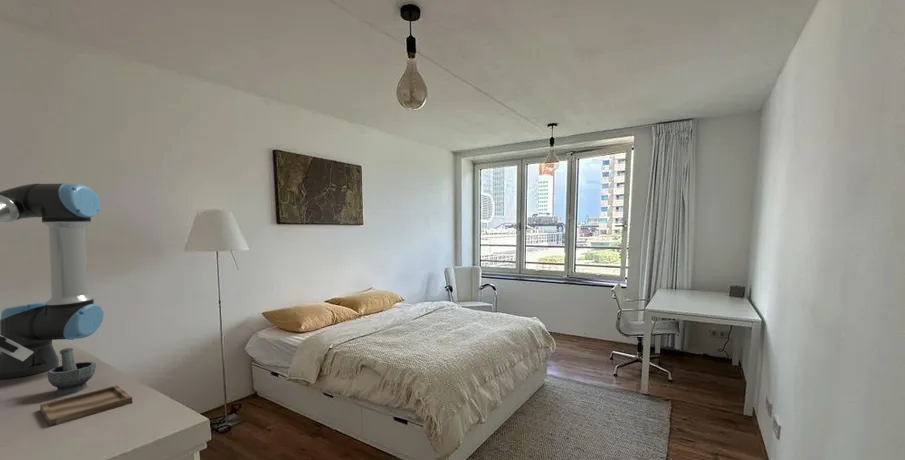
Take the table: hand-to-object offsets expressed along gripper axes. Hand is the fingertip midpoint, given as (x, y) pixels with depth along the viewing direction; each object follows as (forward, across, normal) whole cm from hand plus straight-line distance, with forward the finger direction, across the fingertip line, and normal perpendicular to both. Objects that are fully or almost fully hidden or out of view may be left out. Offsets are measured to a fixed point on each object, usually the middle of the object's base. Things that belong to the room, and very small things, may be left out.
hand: (21, 352), depth 99 cm
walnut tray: (+16, +19, -4) cm, 25 cm away
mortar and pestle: (+17, 0, -3) cm, 17 cm away
